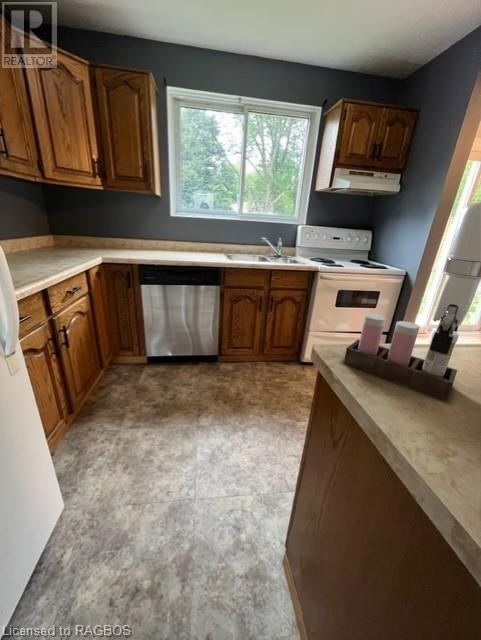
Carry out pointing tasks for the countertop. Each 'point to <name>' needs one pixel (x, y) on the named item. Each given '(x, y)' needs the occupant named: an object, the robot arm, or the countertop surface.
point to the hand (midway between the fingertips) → (441, 345)
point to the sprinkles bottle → (438, 359)
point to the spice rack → (401, 371)
